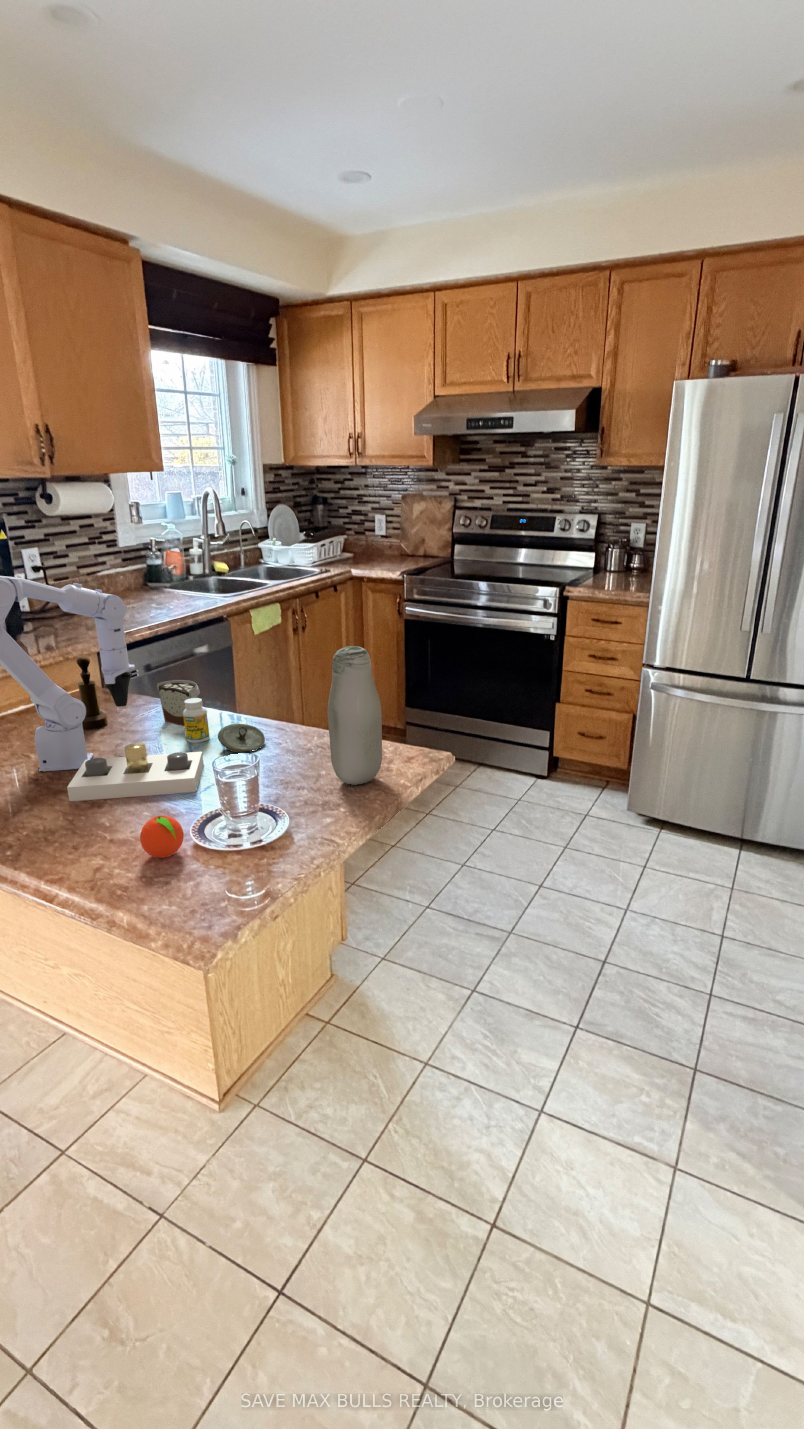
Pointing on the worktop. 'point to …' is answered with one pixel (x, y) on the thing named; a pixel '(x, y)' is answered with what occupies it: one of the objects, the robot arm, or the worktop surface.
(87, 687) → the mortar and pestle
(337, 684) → the grey bottle
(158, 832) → the clementine
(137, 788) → the housing
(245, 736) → the lid
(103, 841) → the worktop surface
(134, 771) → the knob middle
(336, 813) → the worktop surface
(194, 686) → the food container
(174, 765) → the knob
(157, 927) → the worktop surface
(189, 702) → the supplement bottle
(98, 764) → the knob
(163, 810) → the worktop surface
